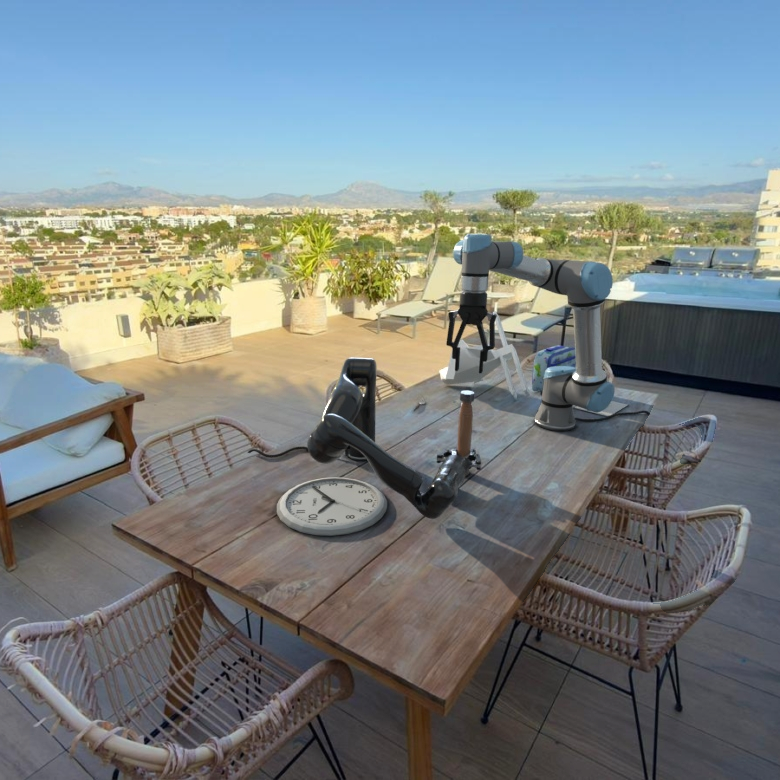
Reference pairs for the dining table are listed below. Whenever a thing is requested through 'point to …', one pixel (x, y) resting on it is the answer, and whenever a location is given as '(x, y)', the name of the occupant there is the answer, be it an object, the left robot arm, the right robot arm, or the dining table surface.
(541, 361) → the lunch box
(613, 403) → the invitation card
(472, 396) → the cap
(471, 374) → the white plastic object
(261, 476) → the dining table surface
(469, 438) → the ringed wooden cylinder
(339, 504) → the wall clock
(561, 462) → the dining table surface
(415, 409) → the fork
